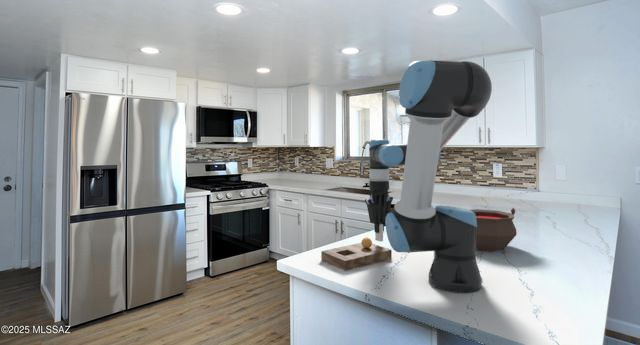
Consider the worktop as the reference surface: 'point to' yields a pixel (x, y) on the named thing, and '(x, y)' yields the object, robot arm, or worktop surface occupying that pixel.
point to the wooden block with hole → (355, 256)
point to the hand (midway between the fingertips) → (379, 240)
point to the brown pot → (494, 229)
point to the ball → (366, 242)
